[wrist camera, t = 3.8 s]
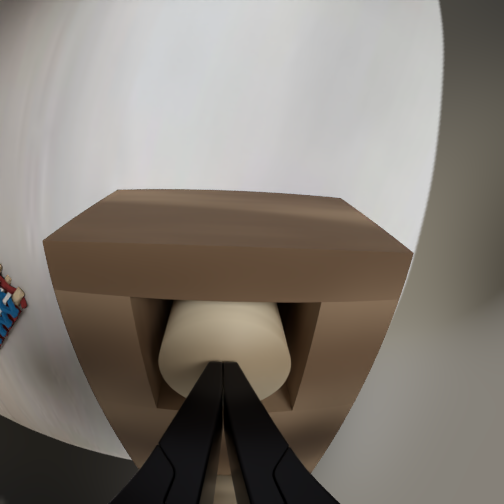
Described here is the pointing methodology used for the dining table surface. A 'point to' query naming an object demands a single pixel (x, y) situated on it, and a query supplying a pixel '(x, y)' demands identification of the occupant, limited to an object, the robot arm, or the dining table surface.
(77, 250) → the socket block
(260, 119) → the dining table surface
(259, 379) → the dowel near
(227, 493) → the dowel far
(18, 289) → the woven mat
